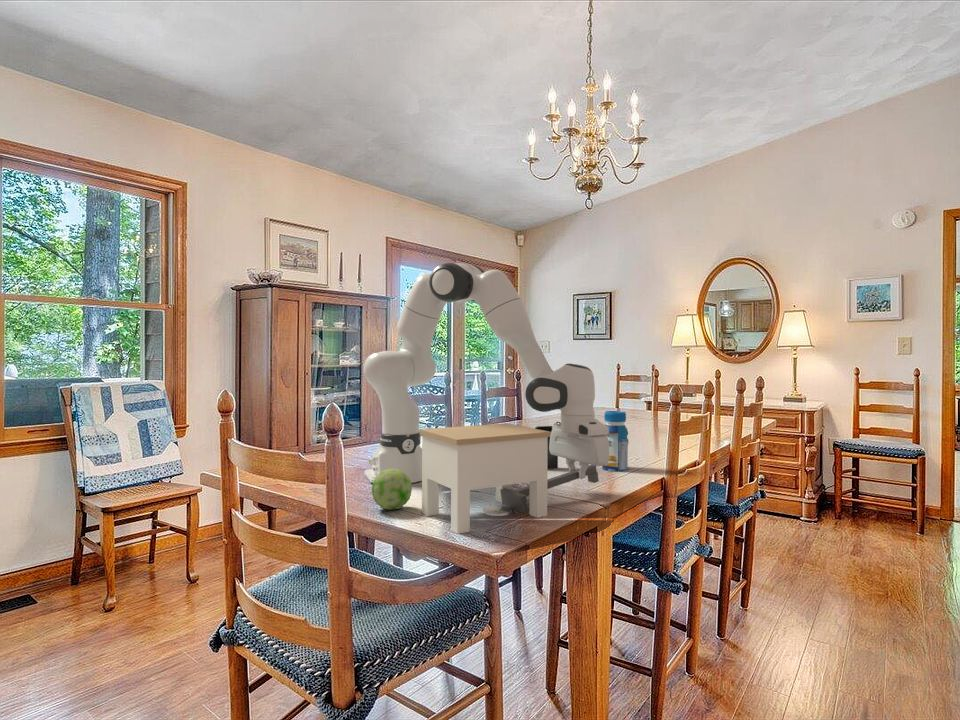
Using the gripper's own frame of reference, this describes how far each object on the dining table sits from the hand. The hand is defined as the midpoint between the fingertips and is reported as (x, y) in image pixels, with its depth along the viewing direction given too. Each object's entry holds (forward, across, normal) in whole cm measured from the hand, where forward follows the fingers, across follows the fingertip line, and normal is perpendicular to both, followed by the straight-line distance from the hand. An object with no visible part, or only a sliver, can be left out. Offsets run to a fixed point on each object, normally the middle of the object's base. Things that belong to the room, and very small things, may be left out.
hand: (577, 477), depth 147 cm
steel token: (+6, 0, -25) cm, 26 cm away
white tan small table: (+6, 0, -29) cm, 30 cm away
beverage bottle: (+6, -18, +32) cm, 38 cm away
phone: (+6, -32, +14) cm, 35 cm away
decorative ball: (+6, -16, -46) cm, 49 cm away
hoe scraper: (+4, 0, -6) cm, 7 cm away
